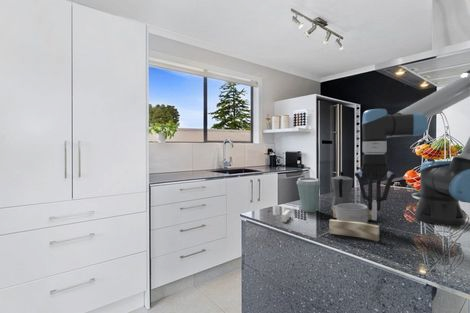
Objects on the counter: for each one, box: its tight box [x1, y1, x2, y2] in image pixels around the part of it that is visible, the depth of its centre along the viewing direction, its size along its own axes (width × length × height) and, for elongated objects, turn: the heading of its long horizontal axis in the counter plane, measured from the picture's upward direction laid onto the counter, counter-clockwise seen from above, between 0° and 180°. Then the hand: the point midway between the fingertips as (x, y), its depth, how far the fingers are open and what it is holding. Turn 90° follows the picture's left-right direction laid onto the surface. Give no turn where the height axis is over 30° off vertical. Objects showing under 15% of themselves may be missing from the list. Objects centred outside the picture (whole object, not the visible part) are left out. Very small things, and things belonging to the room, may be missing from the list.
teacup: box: [335, 202, 369, 224], centre depth 93 cm, size 14×11×8 cm
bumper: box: [281, 209, 291, 223], centre depth 103 cm, size 2×8×3 cm, turn 155°
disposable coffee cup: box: [296, 176, 321, 213], centre depth 116 cm, size 11×11×15 cm
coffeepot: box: [330, 171, 354, 212], centre depth 114 cm, size 15×9×18 cm, turn 153°
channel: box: [328, 206, 380, 242], centre depth 93 cm, size 15×26×4 cm, turn 155°
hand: (374, 219), depth 90 cm, fingers closed
